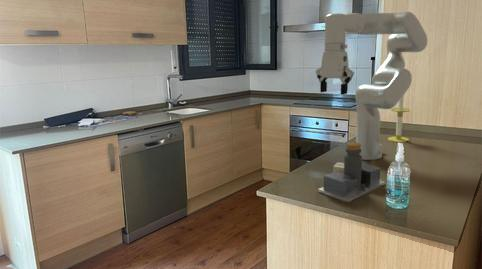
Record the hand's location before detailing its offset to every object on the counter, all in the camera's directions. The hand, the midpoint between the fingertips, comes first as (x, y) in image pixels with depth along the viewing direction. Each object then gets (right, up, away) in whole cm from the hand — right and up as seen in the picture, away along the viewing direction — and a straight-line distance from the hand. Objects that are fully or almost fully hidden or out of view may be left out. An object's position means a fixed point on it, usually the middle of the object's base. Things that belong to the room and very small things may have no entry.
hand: (333, 92), depth 145 cm
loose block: (+2, -32, -2) cm, 32 cm away
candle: (+43, -19, +43) cm, 64 cm away
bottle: (+3, -34, -15) cm, 37 cm away
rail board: (+3, -35, -15) cm, 38 cm away
